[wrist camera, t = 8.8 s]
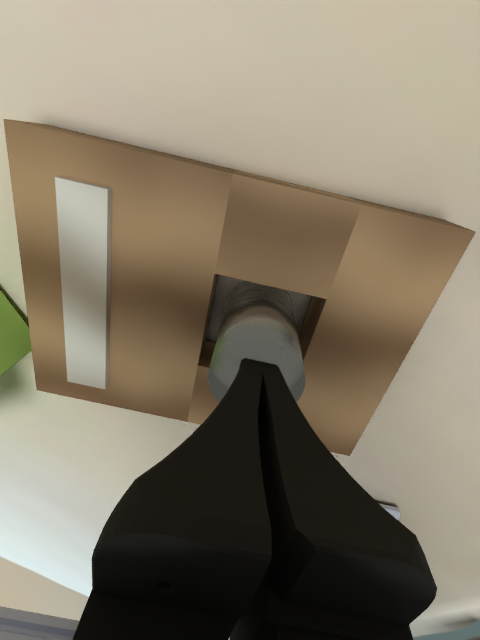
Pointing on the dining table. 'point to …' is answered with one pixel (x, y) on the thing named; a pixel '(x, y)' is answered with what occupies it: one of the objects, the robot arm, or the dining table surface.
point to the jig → (210, 276)
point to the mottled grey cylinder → (257, 337)
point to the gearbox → (12, 335)
